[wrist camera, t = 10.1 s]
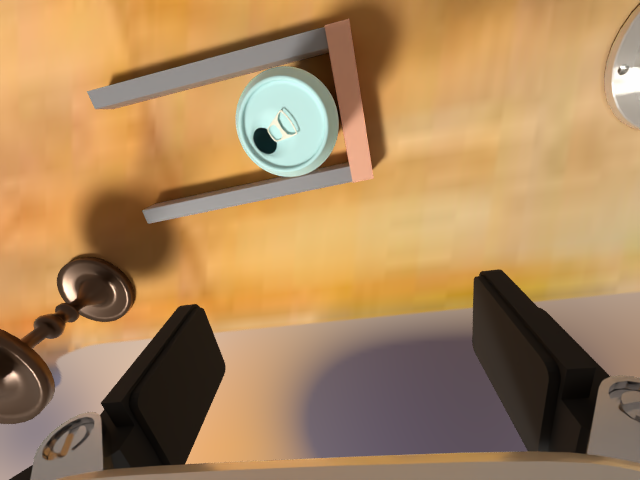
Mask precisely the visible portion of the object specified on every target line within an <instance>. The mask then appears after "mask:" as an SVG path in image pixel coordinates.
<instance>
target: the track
mask: <svg viewBox="0 0 640 480" xmlns="http://www.w3.org/2000/svg"><path fill="white" fill-rule="evenodd" d="M326 53H329V56H330V62H331V67H332V73H333V78H334V84H335V89H336V95H337V100H338V106H339V112H340V117H341V123H342V128H343V134H344V139H345V145H346V150H347V156H348V162H347V163H342V164H338V165H333V166H328V167H324V168H319V169H315V170H313V171H311V172H309V173H307V174H304V175H301V176H295V177H284V176H282V177H277V178H272V179H268V180H263V181H259V182H254V183H249V184H245V185H240V186H235V187H231V188H226V189H221V190H217V191H212V192H207V193H203V194H198V195H193V196H189V197H184V198H179V199H175V200H170V201H165V202H161V203H156V204H153V205H152V206H150V207H148V208H146V209H144V210H142V212H143V214H144V216H145V218H146V220H147V222H148V224H150V223H154V222H159V221H164V220H169V219H174V218H179V217H183V216H188V215H193V214H198V213H203V212H208V211H212V210H217V209H222V208H227V207H232V206H237V205H241V204H246V203H251V202H256V201H261V200H266V199H271V198H275V197H280V196H285V195H290V194H295V193H300V192H304V191H309V190H314V189H319V188H324V187H329V186H333V185H338V184H343V183H348V182H353V183H354V182H359V181H363V180H368V179H373V172H372V165H371V159H370V152H369V146H368V139H367V133H366V126H365V119H364V113H363V106H362V100H361V93H360V87H359V80H358V74H357V67H356V60H355V54H354V47H353V41H352V34H351V28H350V21H349V19H346V20H342V21H338V22H335V23H331V24H327V25H325V27H322V28H319V29H315V30H311V31H308V32H304V33H300V34H296V35H293V36H289V37H285V38H282V39H278V40H274V41H271V42H267V43H263V44H260V45H256V46H252V47H249V48H245V49H241V50H238V51H234V52H230V53H227V54H223V55H219V56H216V57H212V58H208V59H205V60H201V61H197V62H194V63H190V64H186V65H183V66H179V67H175V68H172V69H168V70H164V71H161V72H157V73H153V74H150V75H146V76H142V77H138V78H135V79H131V80H127V81H124V82H120V83H116V84H113V85H109V86H105V87H102V88H98V89H94V90H91V91H87V93H88V95H89V97H90V99H91V101H92V103H93V106H94V108H95V109H115V108H119V107H123V106H127V105H130V104H134V103H138V102H142V101H146V100H150V99H153V98H157V97H161V96H165V95H169V94H173V93H176V92H180V91H184V90H188V89H192V88H196V87H199V86H203V85H207V84H211V83H215V82H219V81H222V80H226V79H230V78H234V77H238V76H242V75H245V74H249V73H253V72H257V71H261V70H264V69H268V68H272V67H276V66H280V65H284V64H287V63H291V62H295V61H299V60H303V59H307V58H310V57H314V56H318V55H322V54H326Z"/></svg>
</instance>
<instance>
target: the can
mask: <svg viewBox="0 0 640 480" xmlns="http://www.w3.org/2000/svg"><path fill="white" fill-rule="evenodd" d="M236 129H237V134H238V137H239V140H240V143H241V145H242V147H243V149H244V150H245V152H246V153H247V155H248V156H249V157H250V158H251V160H252V161H253V162H254V163H255V164H257V165H258V166H259V167H261V168H262V169H264V170H265V171H267V172H269V173H272V174H275V175H278V176H284V177H295V176H301V175H304V174H307V173H309V172H311V171H313V170H315V169H316V168H318V167H319V166H320V165H321V164H322V163H323V162H324V161H325V160H326V159H327V158H328V156H329V155H330V154H331V152H332V150H333V148H334V146H335V143H336V140H337V136H338V129H339V119H338V112H337V108H336V105H335V102H334V100H333V97H332V96H331V94H330V92H329V91H328V89H327V88H326V86H325V85H324V84H323V83H322V82H321V81H320V80H319V79H318V78H316V77H315V76H314V75H312V74H311V73H309V72H307V71H305V70H302V69H299V68H295V67H289V66H281V67H275V68H271V69H268V70H266V71H263V72H262V73H260V74H258V75H257V76H256V77H254V78H253V79H252V80H251V81H250V82H249V83H248V85H247V86H246V87H245V89H244V90H243V92H242V94H241V96H240V99H239V102H238V105H237V110H236Z"/></svg>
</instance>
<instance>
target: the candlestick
mask: <svg viewBox="0 0 640 480" xmlns="http://www.w3.org/2000/svg"><path fill="white" fill-rule="evenodd" d="M57 286H58V290H59V293H60V295H61V297H62V298H63V300H64V301H65V302H66V303H61V304H60V305H58V306H57V307H56V309H55V312H56V313H54V314H47V315H43V316H40V317H38V318H37V319H36V320H35V322H34V330H33V331H32V332H30V333H29V334H27V335H26V336H25V337H23V338H22V339H21V340H20V339H18V338H17V337H15V336H13V335H11V334H10V333H8V332H6V331H4V330H1V329H0V423H1V424H16V423H21V422H26V421H28V420H31V419H33V418H34V417H35V416H37V415H38V414H39V413H40V412H41V411H42V410H43V409H44V408H45V407H46V406H47V405H48V404H49V402H50V401H51V400H52V398H53V395H54V392H55V384H54V379H53V376H52V373H51V371H50V370H49V368H48V366H47V364H46V363H45V362H44V361H43V359H42V358H41V357H40V356H39V355H38V354H37V353H36V352H35V351H34V350H33V349H32V348H34V347H35V346H36V345H37V344H39V343H40V342H41V341H42V340H44V339H45V338H49V339H53V338H57V337H59V336H60V335H61V334H62V333H63V331H64V329H65V323H67V322H74V321H76V320H77V319H78V318H79V314H80V315H82V316H83V317H86V318H88V319H91V320H95V321H100V322H110V321H114V320H117V319H119V318H121V317H122V316H124V315H125V314H126V313H127V312H128V311H129V310H130V308H131V307H132V305H133V302H134V290H133V287H132V285H131V283H130V281H129V279H128V278H127V277H126V275H125V274H124V273H123V272H122V271H121V270H120V269H118V268H117V267H116V266H114V265H113V264H111V263H109V262H107V261H105V260H102V259H99V258H94V257H81V258H78V259H75V260H73V261H71V262H70V263H68V264H66V265H65V266H64V267H63V268H62V269H61V270H60V272H59V273H58V277H57Z"/></svg>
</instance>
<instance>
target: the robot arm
mask: <svg viewBox="0 0 640 480" xmlns="http://www.w3.org/2000/svg"><path fill="white" fill-rule="evenodd" d="M604 84H605V94H606V98H607V102H608V104H609V106H610V108H611V110H612V112H613V114H614V115H615V116H616V117H617V118H618V119H619V120H620V121H621V122H623V123H624V124H626V125H628V126H629V127H631V128H635V129H638V130H640V5H639V6H638V7H637V8H636V9H635V10H634V11H633V13H632V14H631V15H630V16H629V18H628V19H627V21H626V22H625V24H624V25H623V27H622V28H621V29H620V31H619V33H618V35H617V37H616V39H615V41H614V43H613V45H612V48H611V51H610V54H609V57H608V60H607V64H606V70H605V76H604ZM472 342H473V348H474V351H475V353H476V356H477V357H478V359H479V361H480V363H481V365H482V367H483V369H484V370H485V372H486V374H487V376H488V378H489V380H490V381H491V383H492V385H493V387H494V389H495V391H496V392H497V394H498V396H499V398H500V400H501V402H502V403H503V406H504V407H505V409H506V411H507V413H508V415H509V417H510V419H511V420H512V422H513V424H514V426H515V428H516V430H517V432H518V433H519V435H520V437H521V439H522V441H523V443H524V445H525V447H526V448H527V450H528V451H527V452H477V453H445V454H444V453H442V454H415V455H388V456H361V457H337V458H314V459H290V460H267V461H246V462H224V463H204V464H185V463H186V461H187V458H188V456H189V454H190V452H191V449H192V447H193V445H194V442H195V440H196V438H197V435H198V433H199V431H200V428H201V426H202V424H203V422H204V419H205V417H206V415H207V412H208V410H209V408H210V406H211V403H212V401H213V399H214V397H215V394H216V392H217V390H218V387H219V385H220V383H221V381H222V378H223V376H224V373H225V363H224V360H223V357H222V355H221V352H220V349H219V347H218V344H217V342H216V339H215V337H214V334H213V331H212V329H211V326H210V324H209V321H208V319H207V316H206V313H205V311H204V309H203V308H200V307H199V306H198V305H197V304H193V305H184V306H180V307H178V308H177V310H176V311H175V312H174V313H173V315H172V316H171V317H170V318H169V319H168V321H167V322H166V323H165V324H164V326H163V327H162V328H161V329H160V331H159V332H158V333H157V334H156V336H155V337H154V338H153V339H152V341H151V342H150V343H149V344H148V346H147V347H146V348H145V349H144V350H143V352H142V353H141V354H140V355H139V357H138V358H137V359H136V360H135V362H134V363H133V364H132V365H131V367H130V368H129V369H128V370H127V371H126V373H125V374H124V375H123V376H122V378H121V379H120V380H119V381H118V383H117V384H116V385H115V386H114V387H113V389H112V390H111V391H110V392H109V394H108V395H107V396H106V398H105V399H104V400H103V401H102V402H101V404H102V406H103V408H104V411H103V412H102V413H101V415H99V414H97V413H96V412H87V413H83V414H80V415H77V416H75V417H73V418H71V419H69V420H68V421H66V422H64V423H63V424H61V425H60V426H59V427H57V428H56V429H55V430H54V431H52V432H51V433H50V434H49V436H47V438H46V439H45V440H44V441H43V442H42V444H41V445H40V446H39V448H38V449H37V452H36V455H35V457H34V462H33V465H32V466H30V467H29V468H27V469H25V470H24V471H22V472H21V473H19V474H17V475H16V476H14V477H13V478H11V479H9V480H640V378H637V377H633V376H620V375H619V376H612V377H610V376H609V375H608V374H607V373H606V372H605V371H604V370H603V369H602V368H601V367H600V366H599V365H598V364H597V363H596V362H595V361H594V360H593V359H592V358H591V357H590V356H589V355H588V354H587V353H586V352H585V351H584V350H583V349H582V348H581V346H579V344H578V343H576V341H575V340H573V338H572V337H571V336H569V334H568V333H567V332H566V331H565V330H564V329H563V328H562V327H561V326H559V324H558V323H557V322H556V321H555V320H554V319H553V318H552V317H551V316H550V315H549V314H548V313H547V312H546V311H544V310H543V309H541V308H538V307H537V306H536V305H535V304H534V303H533V302H532V301H531V300H530V299H529V298H528V297H527V296H526V294H525V293H524V292H523V291H522V290H521V289H520V288H519V287H518V286H517V285H516V284H515V283H514V282H513V281H512V280H511V279H510V278H509V277H508V276H507V275H506V274H505V273H504V272H503V271H502V270H491V271H482V272H480V274H479V276H478V277H475V278H474V295H473V337H472Z"/></svg>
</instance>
